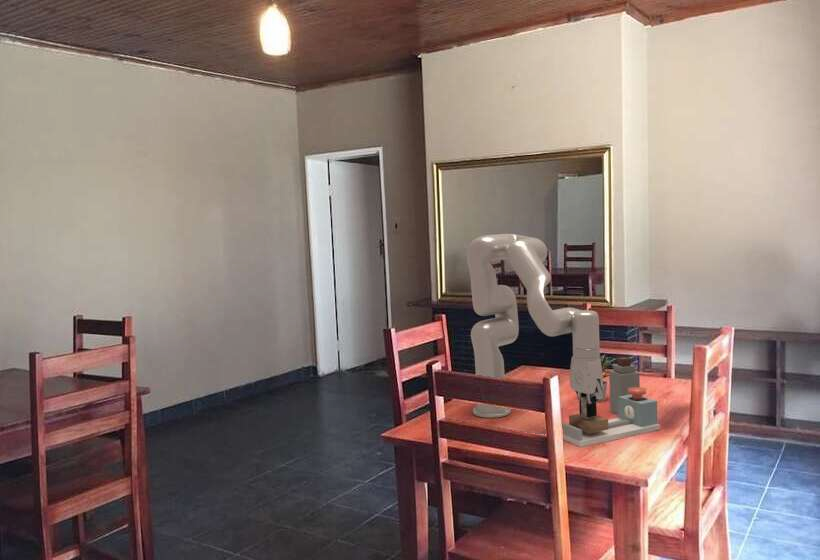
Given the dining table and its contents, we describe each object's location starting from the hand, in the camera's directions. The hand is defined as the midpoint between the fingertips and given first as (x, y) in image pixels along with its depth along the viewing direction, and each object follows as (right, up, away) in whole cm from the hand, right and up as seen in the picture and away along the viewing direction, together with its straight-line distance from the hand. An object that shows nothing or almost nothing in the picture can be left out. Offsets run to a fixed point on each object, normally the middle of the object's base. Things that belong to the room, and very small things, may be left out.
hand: (588, 414), depth 199 cm
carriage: (0, -4, 0) cm, 4 cm away
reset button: (+17, +3, +7) cm, 19 cm away
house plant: (+15, -3, +40) cm, 42 cm away
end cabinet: (+17, -4, +8) cm, 19 cm away
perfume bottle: (+18, -4, +22) cm, 29 cm away
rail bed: (+7, -6, +3) cm, 10 cm away
